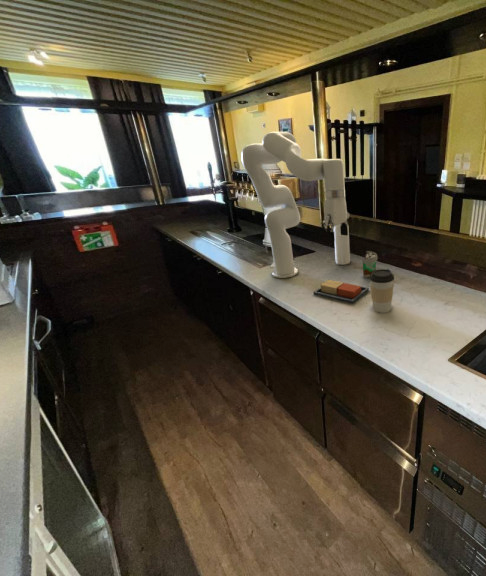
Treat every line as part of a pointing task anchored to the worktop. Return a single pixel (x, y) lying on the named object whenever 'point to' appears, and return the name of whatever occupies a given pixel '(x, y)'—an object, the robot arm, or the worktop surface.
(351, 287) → the pad
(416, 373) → the worktop surface
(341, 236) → the bottle
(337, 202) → the robot arm
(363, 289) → the tray
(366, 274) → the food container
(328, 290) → the pad
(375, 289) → the coffee cup
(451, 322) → the worktop surface
